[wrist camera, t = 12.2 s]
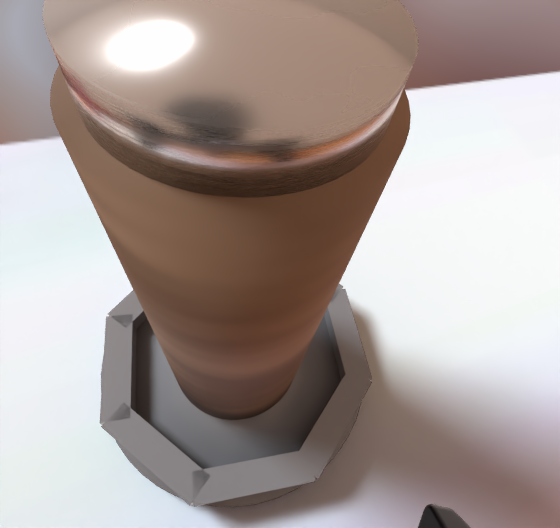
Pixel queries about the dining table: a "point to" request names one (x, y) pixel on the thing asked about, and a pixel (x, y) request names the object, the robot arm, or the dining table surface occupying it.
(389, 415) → the dining table surface
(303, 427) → the slate saucer
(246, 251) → the brown metal-capped cylinder
